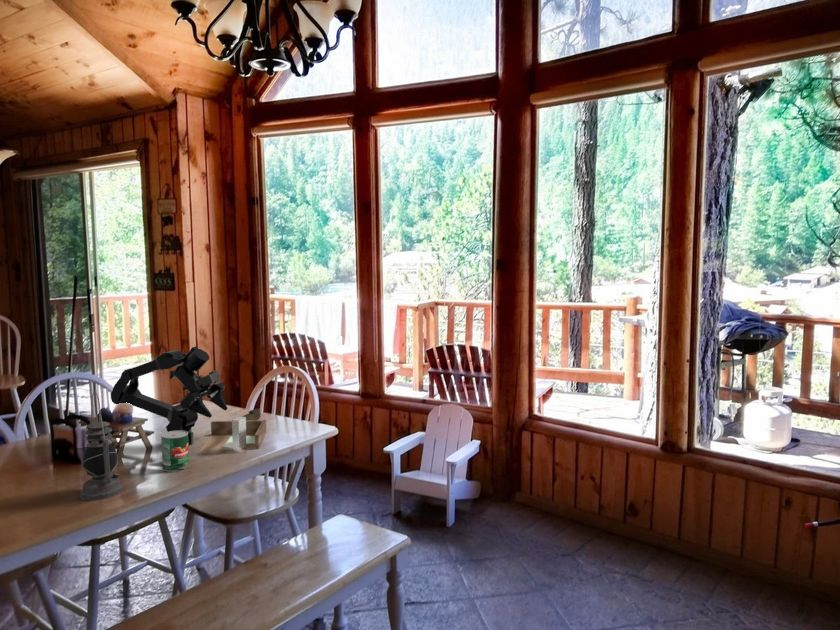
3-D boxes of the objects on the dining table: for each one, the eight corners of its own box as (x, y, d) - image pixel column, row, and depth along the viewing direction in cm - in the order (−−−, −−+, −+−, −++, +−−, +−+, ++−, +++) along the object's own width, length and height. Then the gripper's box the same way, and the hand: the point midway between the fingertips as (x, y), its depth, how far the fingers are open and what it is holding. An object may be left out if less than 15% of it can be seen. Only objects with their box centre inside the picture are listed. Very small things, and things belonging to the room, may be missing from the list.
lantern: (129, 493, 162) (125, 389, 159) (88, 504, 154) (83, 396, 151) (113, 481, 170) (108, 382, 167) (73, 491, 162) (67, 389, 159)
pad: (225, 444, 201) (225, 443, 201) (230, 437, 209) (230, 436, 209) (254, 443, 202) (254, 443, 202) (258, 436, 210) (258, 436, 210)
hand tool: (234, 431, 219) (233, 420, 218) (225, 430, 221) (225, 418, 220) (265, 419, 236) (265, 408, 236) (258, 417, 238) (257, 407, 237)
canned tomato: (169, 462, 186) (168, 429, 184) (193, 463, 186) (192, 430, 184) (157, 471, 178) (156, 437, 177) (182, 472, 178) (181, 438, 176)
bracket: (246, 448, 197) (245, 417, 196) (239, 452, 193) (238, 420, 192) (229, 446, 199) (228, 415, 198) (221, 450, 195) (220, 419, 193)
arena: (196, 456, 191) (196, 439, 190) (212, 436, 212) (211, 421, 211) (257, 455, 193) (256, 438, 193) (266, 435, 214) (266, 420, 213)
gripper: (186, 369, 186) (217, 405, 185) (219, 359, 204) (247, 391, 203) (166, 391, 189) (196, 426, 188) (201, 379, 207) (228, 411, 206)
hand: (218, 413), depth 196 cm, fingers open, 9 cm apart
